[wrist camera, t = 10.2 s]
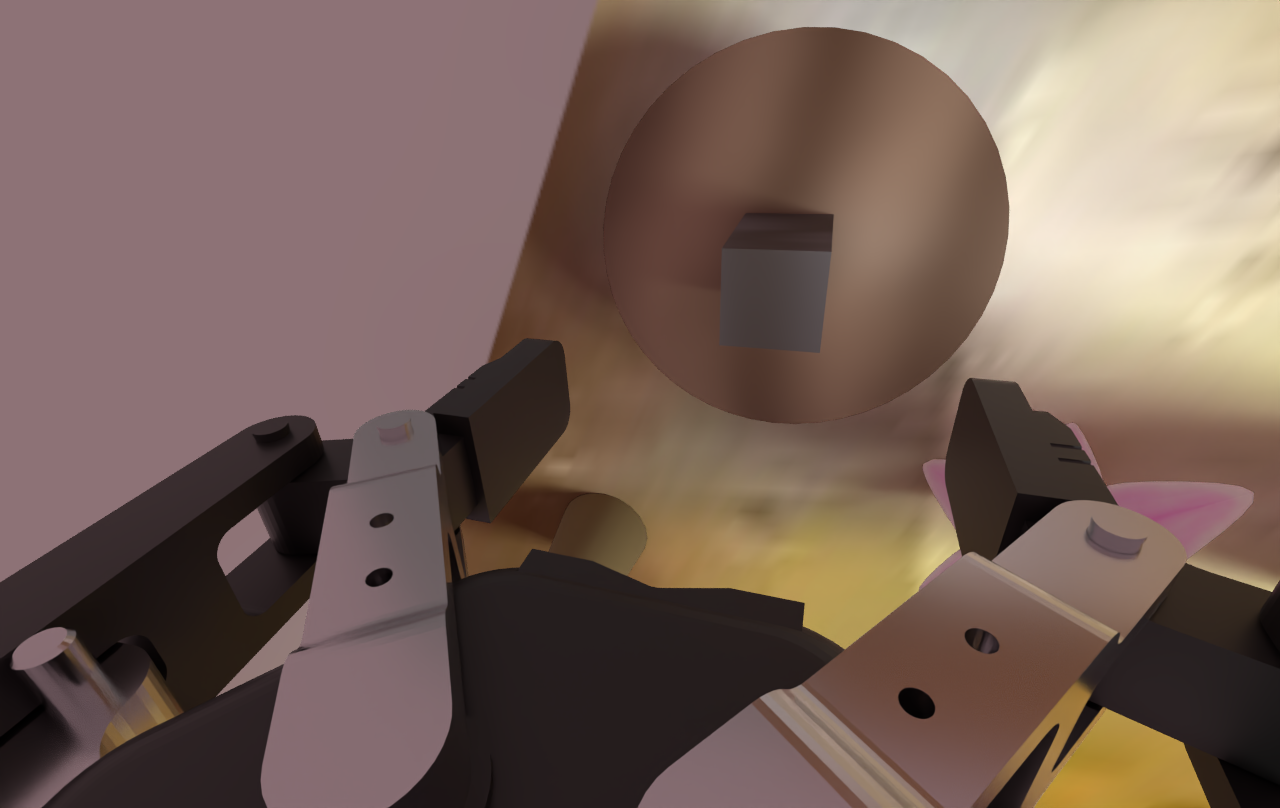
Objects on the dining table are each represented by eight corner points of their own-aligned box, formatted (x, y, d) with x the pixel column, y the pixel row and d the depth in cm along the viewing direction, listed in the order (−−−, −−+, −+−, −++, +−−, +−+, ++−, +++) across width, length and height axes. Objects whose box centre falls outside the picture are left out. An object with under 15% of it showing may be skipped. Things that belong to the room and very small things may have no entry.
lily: (1231, 425, 27) (1285, 455, 19) (1204, 668, 28) (1245, 785, 21) (942, 406, 34) (900, 423, 27) (931, 600, 35) (887, 668, 28)
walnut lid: (1058, 12, 17) (1149, -13, 12) (952, 429, 24) (982, 526, 19) (599, 42, 21) (521, 33, 16) (621, 394, 27) (572, 467, 22)
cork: (562, 485, 39) (477, 610, 30) (648, 503, 38) (587, 640, 29) (565, 551, 42) (489, 684, 33) (646, 570, 41) (589, 714, 32)
